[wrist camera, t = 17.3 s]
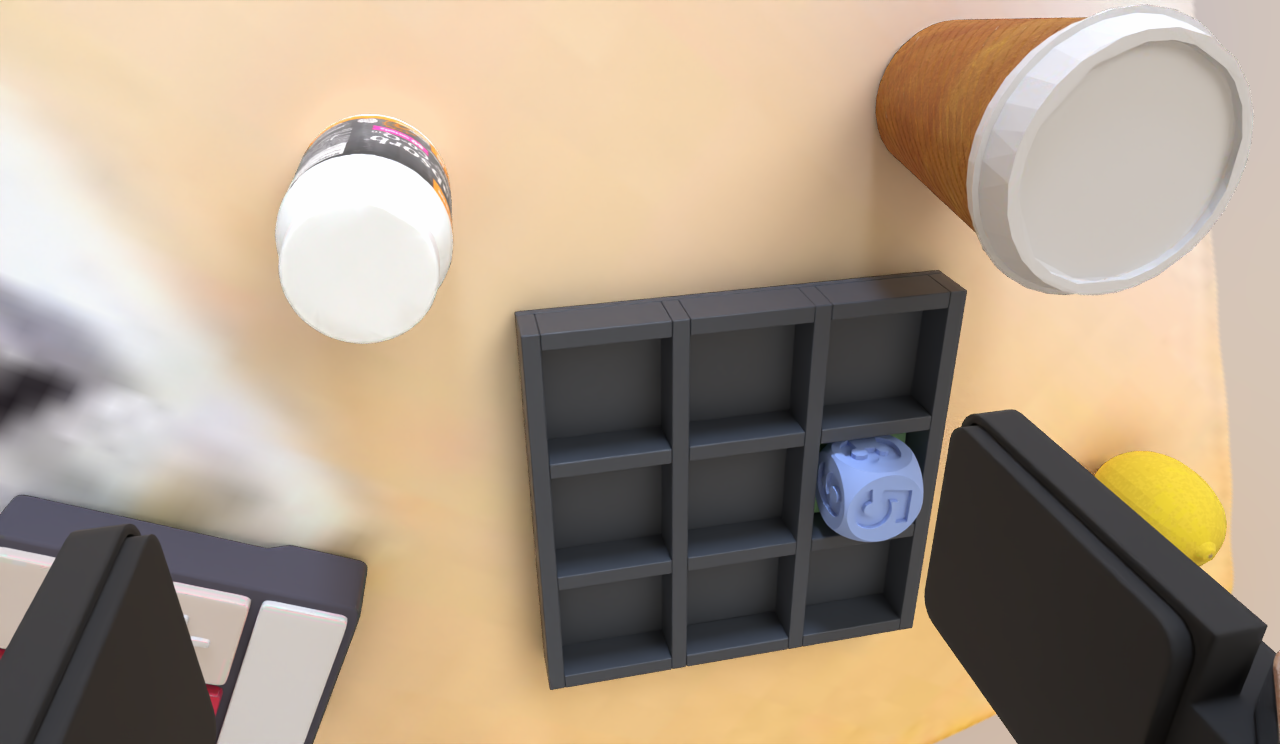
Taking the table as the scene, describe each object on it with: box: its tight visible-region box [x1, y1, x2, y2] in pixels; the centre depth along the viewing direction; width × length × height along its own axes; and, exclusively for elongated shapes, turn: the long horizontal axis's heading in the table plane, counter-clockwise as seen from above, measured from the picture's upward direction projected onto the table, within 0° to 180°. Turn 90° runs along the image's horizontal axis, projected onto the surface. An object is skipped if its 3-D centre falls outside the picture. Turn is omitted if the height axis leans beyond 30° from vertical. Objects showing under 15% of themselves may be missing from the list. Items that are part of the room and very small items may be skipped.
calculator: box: [0, 495, 367, 744], centre depth 42 cm, size 11×4×15 cm
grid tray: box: [515, 270, 967, 690], centre depth 45 cm, size 20×20×3 cm
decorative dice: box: [815, 435, 923, 542], centre depth 45 cm, size 4×4×4 cm
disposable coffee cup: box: [876, 4, 1254, 295], centre depth 34 cm, size 10×10×12 cm
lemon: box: [1094, 451, 1227, 566], centre depth 48 cm, size 6×6×8 cm
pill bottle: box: [275, 114, 453, 344], centre depth 32 cm, size 6×6×10 cm
